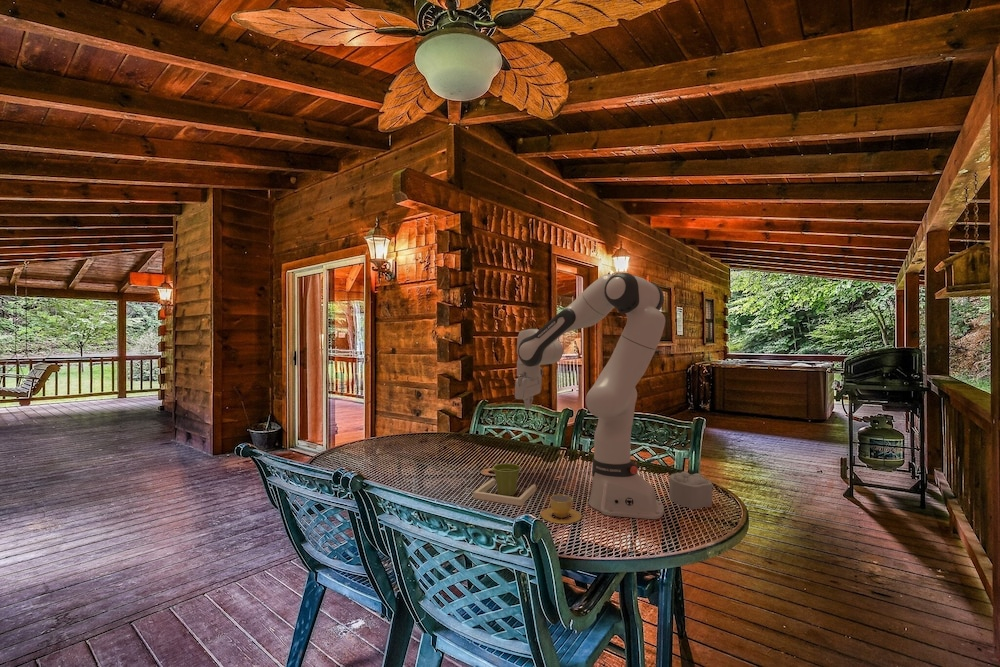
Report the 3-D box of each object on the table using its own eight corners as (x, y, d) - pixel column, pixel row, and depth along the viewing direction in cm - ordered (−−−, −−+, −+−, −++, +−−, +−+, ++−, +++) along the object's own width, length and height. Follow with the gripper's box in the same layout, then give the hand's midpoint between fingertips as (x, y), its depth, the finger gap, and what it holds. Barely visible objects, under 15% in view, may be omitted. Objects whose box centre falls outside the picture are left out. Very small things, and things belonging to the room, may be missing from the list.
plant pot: (487, 490, 157) (487, 465, 157) (512, 486, 161) (512, 461, 161) (500, 499, 148) (500, 472, 148) (525, 495, 153) (526, 468, 153)
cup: (577, 527, 128) (577, 508, 128) (535, 521, 132) (536, 502, 132) (584, 511, 140) (584, 493, 140) (546, 506, 144) (546, 489, 144)
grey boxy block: (692, 511, 140) (692, 482, 140) (660, 497, 152) (661, 470, 152) (716, 506, 144) (717, 478, 144) (684, 492, 156) (684, 467, 156)
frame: (536, 490, 157) (536, 484, 157) (520, 506, 143) (520, 499, 143) (491, 484, 163) (491, 478, 163) (473, 498, 149) (473, 492, 149)
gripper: (527, 374, 163) (526, 413, 163) (544, 370, 182) (544, 405, 182) (510, 373, 166) (510, 412, 166) (529, 369, 185) (529, 404, 185)
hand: (528, 408), depth 174 cm, fingers closed
